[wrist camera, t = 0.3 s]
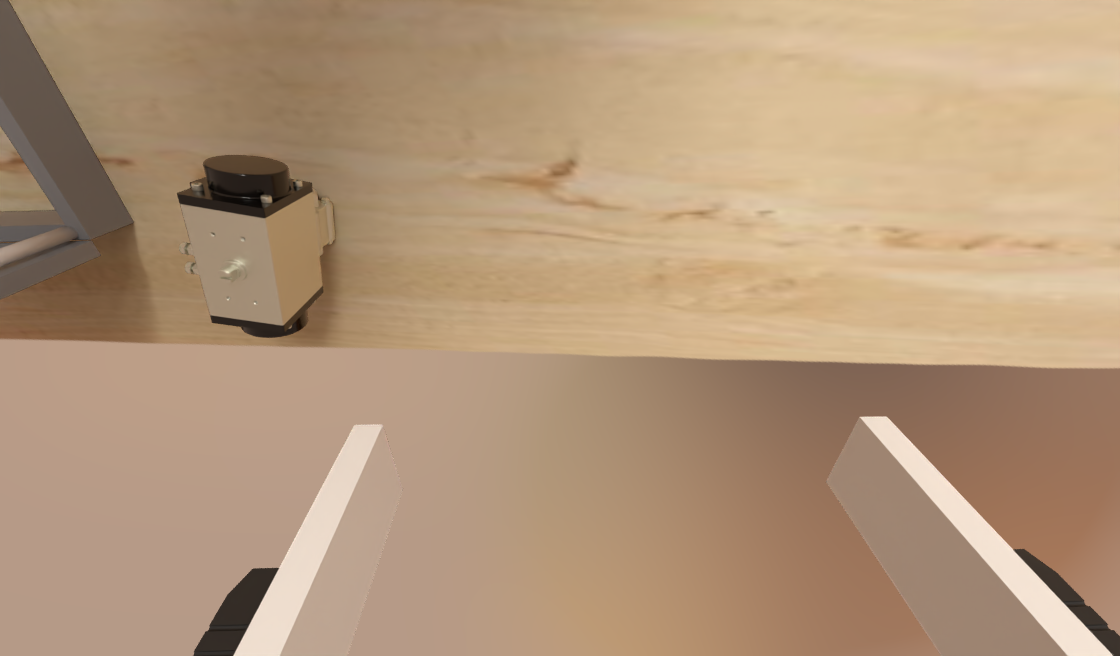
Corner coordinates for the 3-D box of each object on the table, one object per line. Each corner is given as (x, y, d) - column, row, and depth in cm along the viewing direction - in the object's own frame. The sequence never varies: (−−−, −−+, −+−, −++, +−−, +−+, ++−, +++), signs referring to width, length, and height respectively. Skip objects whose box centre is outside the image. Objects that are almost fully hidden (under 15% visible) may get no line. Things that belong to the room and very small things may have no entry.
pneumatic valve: (338, 149, 33) (247, 188, 23) (347, 282, 40) (278, 359, 29) (262, 134, 33) (135, 168, 23) (284, 272, 39) (191, 347, 29)
